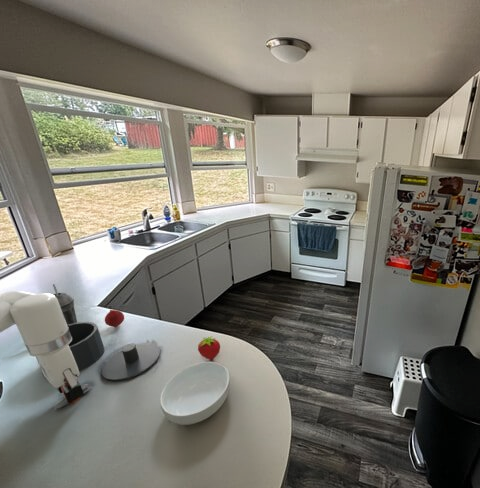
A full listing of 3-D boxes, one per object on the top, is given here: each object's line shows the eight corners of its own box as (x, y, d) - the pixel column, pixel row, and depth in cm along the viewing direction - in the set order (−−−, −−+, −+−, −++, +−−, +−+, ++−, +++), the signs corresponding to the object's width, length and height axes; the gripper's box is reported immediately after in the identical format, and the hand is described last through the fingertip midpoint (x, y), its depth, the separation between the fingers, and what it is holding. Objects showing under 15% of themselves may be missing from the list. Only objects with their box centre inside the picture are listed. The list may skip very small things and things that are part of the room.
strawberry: (213, 369, 81) (210, 345, 78) (195, 363, 83) (191, 338, 80) (226, 356, 86) (223, 333, 83) (208, 350, 89) (205, 327, 85)
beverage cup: (80, 320, 101) (64, 276, 95) (85, 328, 97) (69, 282, 91) (54, 330, 96) (36, 284, 89) (59, 338, 92) (40, 290, 85)
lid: (116, 390, 73) (111, 374, 71) (92, 368, 80) (87, 353, 78) (170, 356, 86) (167, 341, 84) (145, 339, 93) (142, 325, 91)
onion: (124, 319, 103) (120, 303, 100) (127, 326, 99) (122, 309, 96) (106, 326, 99) (101, 308, 96) (108, 333, 95) (102, 315, 92)
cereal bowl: (199, 447, 60) (194, 426, 57) (149, 421, 65) (143, 401, 63) (243, 388, 75) (242, 370, 72) (200, 371, 80) (197, 354, 78)
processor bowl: (53, 385, 74) (42, 360, 70) (36, 365, 80) (25, 341, 77) (112, 354, 86) (105, 331, 82) (93, 338, 92) (85, 316, 89)
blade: (58, 413, 66) (48, 393, 63) (53, 407, 68) (43, 387, 65) (94, 391, 72) (86, 372, 70) (88, 386, 74) (81, 367, 71)
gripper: (17, 337, 64) (41, 390, 70) (40, 365, 56) (66, 421, 62) (57, 321, 70) (76, 371, 76) (83, 344, 62) (102, 397, 68)
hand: (71, 393), depth 69 cm, fingers open, 5 cm apart
